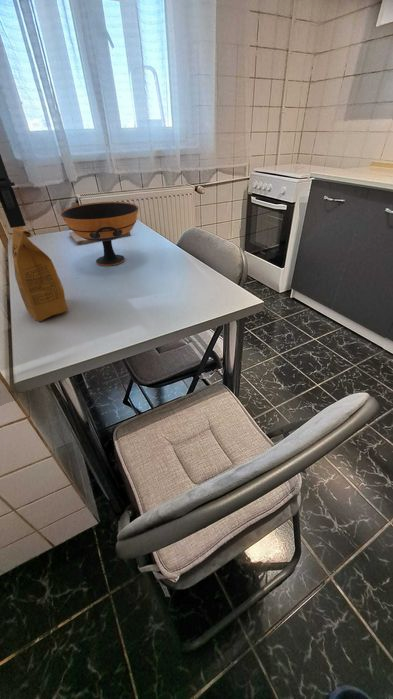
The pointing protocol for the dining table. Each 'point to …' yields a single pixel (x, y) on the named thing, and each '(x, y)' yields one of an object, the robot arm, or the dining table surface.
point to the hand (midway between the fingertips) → (17, 225)
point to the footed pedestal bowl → (102, 225)
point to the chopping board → (81, 240)
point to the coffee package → (36, 278)
